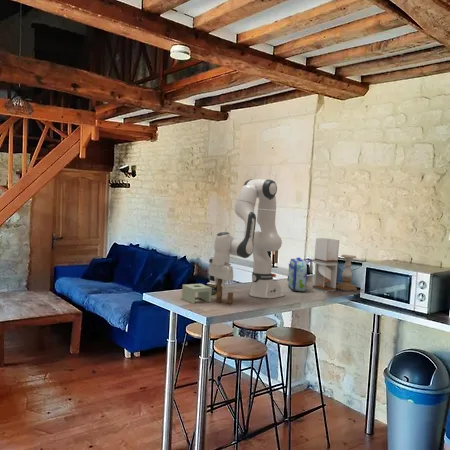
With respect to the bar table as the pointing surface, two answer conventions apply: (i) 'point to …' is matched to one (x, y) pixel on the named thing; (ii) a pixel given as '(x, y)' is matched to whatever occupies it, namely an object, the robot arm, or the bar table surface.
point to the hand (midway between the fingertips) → (219, 286)
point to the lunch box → (297, 274)
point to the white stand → (326, 264)
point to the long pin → (219, 291)
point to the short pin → (230, 298)
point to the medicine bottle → (213, 286)
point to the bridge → (190, 290)
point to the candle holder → (347, 275)
